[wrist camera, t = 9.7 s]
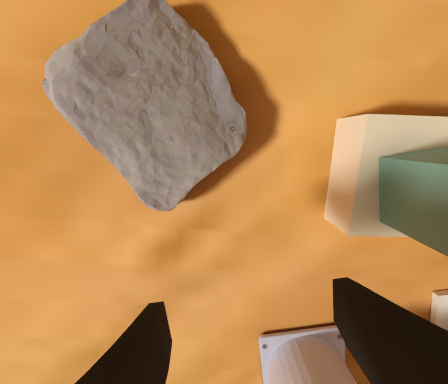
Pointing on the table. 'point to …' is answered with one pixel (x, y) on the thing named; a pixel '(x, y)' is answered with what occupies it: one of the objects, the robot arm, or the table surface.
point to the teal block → (416, 195)
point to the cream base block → (372, 165)
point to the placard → (439, 309)
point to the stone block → (148, 99)
